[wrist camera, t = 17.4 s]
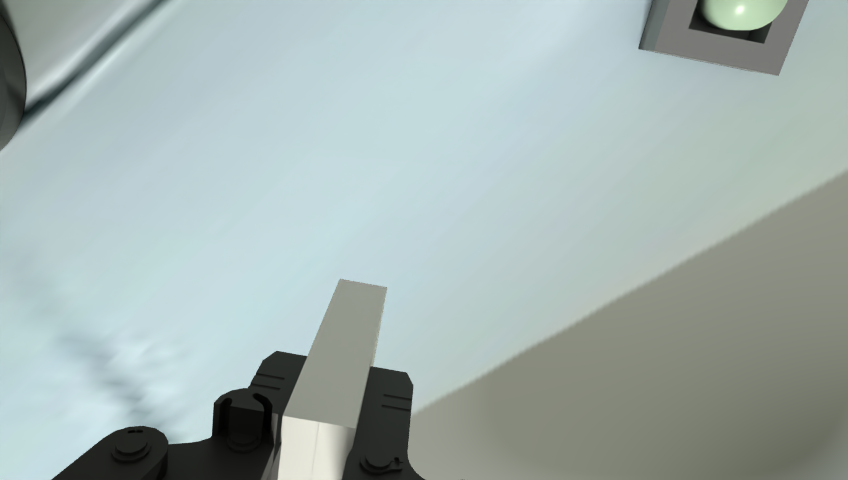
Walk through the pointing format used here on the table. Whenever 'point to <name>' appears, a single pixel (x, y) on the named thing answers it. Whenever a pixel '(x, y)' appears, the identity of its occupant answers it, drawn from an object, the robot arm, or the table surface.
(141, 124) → the table surface
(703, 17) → the button
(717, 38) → the button housing
